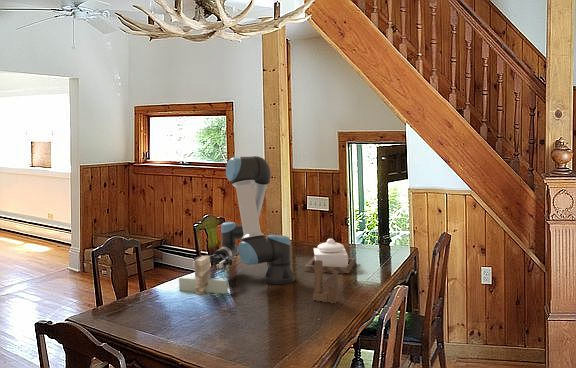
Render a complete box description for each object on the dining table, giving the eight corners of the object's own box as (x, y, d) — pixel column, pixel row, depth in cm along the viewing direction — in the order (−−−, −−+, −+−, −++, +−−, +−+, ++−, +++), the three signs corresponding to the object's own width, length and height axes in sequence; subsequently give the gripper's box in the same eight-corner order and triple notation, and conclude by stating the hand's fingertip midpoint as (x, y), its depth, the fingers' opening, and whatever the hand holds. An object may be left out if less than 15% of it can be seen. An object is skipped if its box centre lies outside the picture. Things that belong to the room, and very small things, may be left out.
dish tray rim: (355, 263, 332) (355, 258, 332) (348, 273, 309) (348, 268, 309) (314, 261, 338) (314, 256, 338) (304, 271, 315) (304, 265, 315)
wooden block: (334, 304, 256) (334, 263, 255) (312, 300, 262) (312, 261, 260) (338, 301, 260) (338, 262, 258) (316, 298, 265) (316, 259, 263)
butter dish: (348, 270, 315) (348, 241, 313) (314, 271, 315) (314, 241, 314) (345, 263, 332) (345, 235, 331) (313, 263, 333) (313, 235, 331)
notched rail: (227, 292, 277) (227, 279, 276) (226, 293, 275) (225, 280, 275) (181, 289, 283) (180, 277, 283) (179, 290, 281) (179, 278, 281)
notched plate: (210, 288, 284) (209, 256, 282) (202, 294, 274) (201, 260, 272) (204, 288, 285) (203, 255, 283) (195, 293, 275) (194, 260, 273)
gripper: (245, 263, 301) (231, 273, 281) (200, 261, 307) (183, 271, 287) (245, 249, 300) (230, 258, 280) (199, 247, 307) (182, 256, 286)
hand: (206, 265), depth 283 cm, fingers open, 13 cm apart
